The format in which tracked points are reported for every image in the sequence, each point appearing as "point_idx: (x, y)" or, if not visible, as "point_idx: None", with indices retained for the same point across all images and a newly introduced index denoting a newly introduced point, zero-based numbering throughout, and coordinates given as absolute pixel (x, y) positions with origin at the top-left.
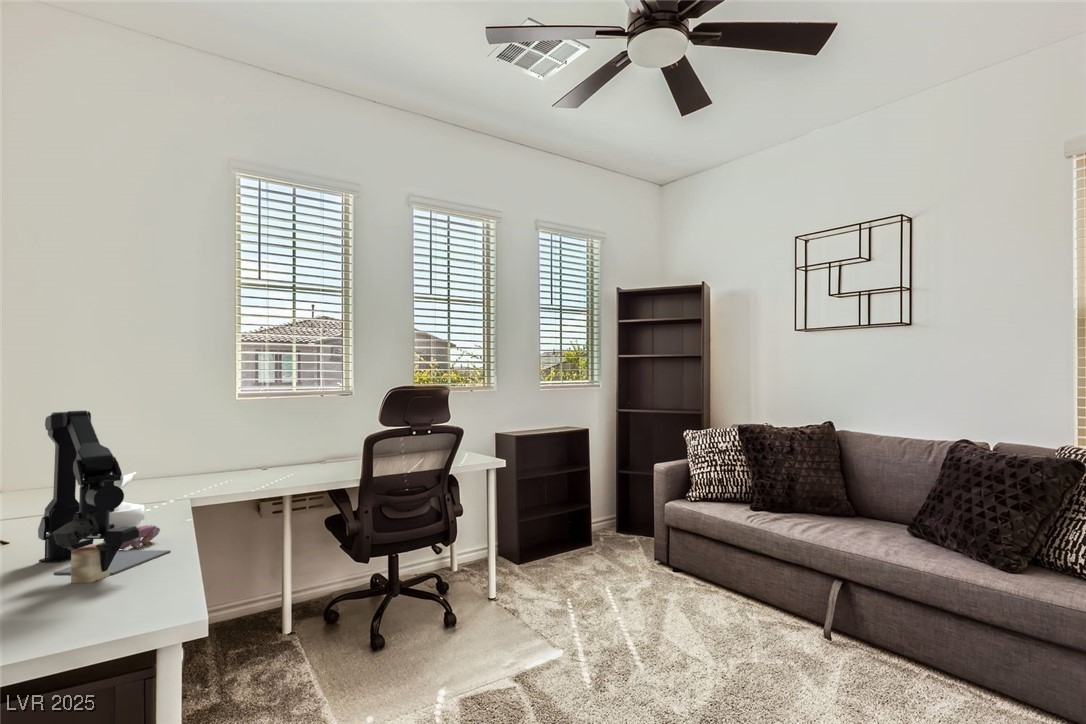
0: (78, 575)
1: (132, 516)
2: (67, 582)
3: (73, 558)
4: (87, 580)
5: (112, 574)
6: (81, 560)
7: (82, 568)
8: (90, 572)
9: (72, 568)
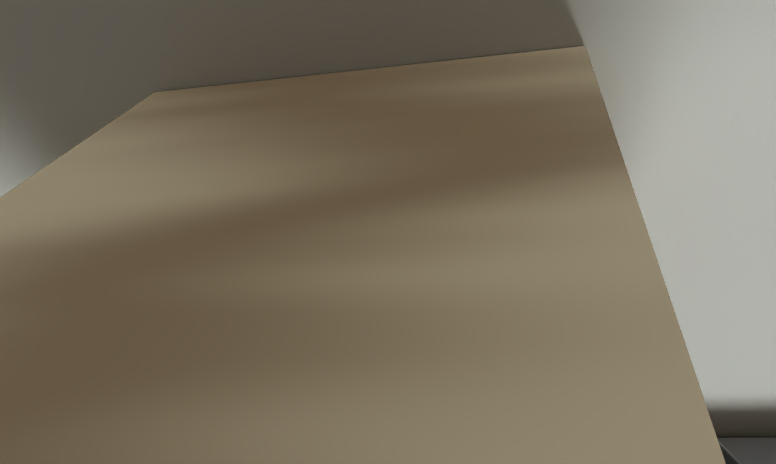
0: (385, 116)
1: None
2: (704, 58)
3: (553, 399)
4: (194, 102)
5: None
6: (121, 339)
7: (206, 194)
8: (39, 172)
9: (570, 169)
